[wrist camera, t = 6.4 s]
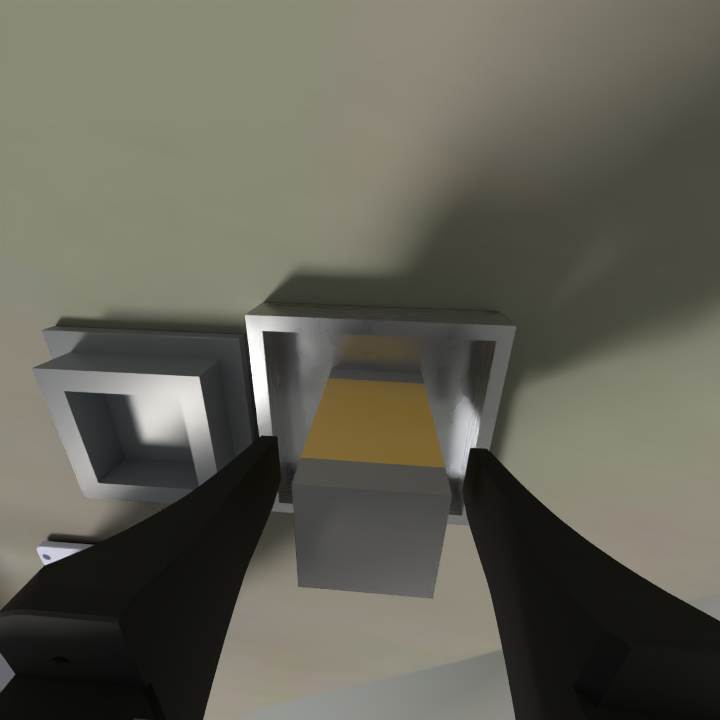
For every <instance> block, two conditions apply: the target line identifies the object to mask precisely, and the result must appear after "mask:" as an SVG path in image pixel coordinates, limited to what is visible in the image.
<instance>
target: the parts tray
mask: <svg viewBox="0 0 720 720" xmlns="http://www.w3.org/2000/svg"><path fill="white" fill-rule="evenodd" d="M245 319H246V327H247V336H248V344H249V353H250V361H251V370H252V378H253V387H254V395H255V404H256V412H257V421H258V430H259V437H260V436H261V435H265V436H277V438H278V449H279V460H280V471H281V481H280V485H279V488H278V492H277V495H276V499H275V502H274V505H273V508H272V510H271V511H273V512H287V513H294V512H293V496H292V482H293V479H294V476H295V473H296V470H297V467H298V464H299V461H300V458H301V455H302V453H303V450H304V447H305V444H306V441H307V438H308V435H309V432H310V429H311V426H312V424H313V421H314V418H315V415H316V412H317V409H318V406H319V403H320V400H321V397H322V395H323V392H324V389H325V386H326V383H327V380H328V377H329V374H330V371H331V368H336V369H354V370H371V371H389V372H406V373H422V376H423V380H424V384H425V388H426V392H427V396H428V400H429V404H430V408H431V412H432V416H433V420H434V425H435V429H436V433H437V437H438V441H439V445H440V449H441V453H442V457H443V461H444V465H445V469H446V473H447V477H448V481H449V485H450V489H451V493H452V499H451V504H450V509H449V515H448V520H447V524H456V525H469V522H468V519H467V515H466V509H465V504H464V499H463V493H462V488H463V483H464V477H465V472H466V467H467V462H468V456H469V451H470V448H484V449H488V450H490V445H491V441H492V436H493V432H494V427H495V423H496V418H497V413H498V409H499V404H500V400H501V395H502V391H503V386H504V382H505V377H506V372H507V368H508V363H509V359H510V354H511V350H512V345H513V340H514V336H515V331H516V327H517V326H516V325H515V324H513V323H512V322H511V321H510V320H509V319H507V318H506V317H505V316H504V315H502V314H501V313H500V312H494V311H468V310H443V309H417V308H391V307H366V306H340V305H314V304H288V303H261V304H260V305H259V306H257V307H256V308H254V309H253V310H251V311H250V312H249V313H247V314H246V315H245Z"/></svg>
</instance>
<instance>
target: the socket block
mask: <svg viewBox="0 0 720 720" xmlns="http://www.w3.org/2000/svg"><path fill="white" fill-rule="evenodd" d="M42 331H43V334H44V337H45V339H46V342H47V345H48V348H49V350H50V353H51V356H52V358H53V360H50V361H48V362H46V363H43V364H41V365H39V366H36V367H34V368H32V369H33V371H34V374H35V376H36V378H37V381H38V383H39V386H40V388H41V391H42V393H43V396H44V398H45V401H46V403H47V406H48V408H49V411H50V413H51V416H52V418H53V420H54V423H55V425H56V428H57V430H58V433H59V435H60V438H61V440H62V443H63V445H64V448H65V450H66V453H67V455H68V458H69V460H70V462H71V465H72V467H73V470H74V472H75V475H76V477H77V480H78V482H79V485H80V487H81V490H82V492H83V495H84V497H85V498H99V499H113V500H127V501H141V502H156V503H170V504H173V503H175V502H176V501H178V500H179V499H181V498H183V497H184V496H186V495H187V494H189V493H190V492H192V491H193V490H195V489H196V488H197V487H199V486H200V485H201V484H203V483H204V482H205V481H207V480H208V479H209V478H211V477H212V476H213V475H215V474H216V473H217V472H219V471H220V470H221V469H222V468H224V467H225V466H226V465H227V464H228V463H230V462H231V461H232V460H233V459H234V458H236V457H237V456H238V455H239V454H240V453H241V452H243V451H244V450H245V449H246V448H247V447H248V446H250V445H251V444H252V443H253V442H254V441H255V440H257V437H256V429H255V420H254V412H253V404H252V396H251V387H250V379H249V371H248V363H247V354H246V346H245V338H244V334H222V333H199V332H176V331H153V330H131V329H108V328H85V327H62V326H53V327H50V328H47V329H44V330H42Z"/></svg>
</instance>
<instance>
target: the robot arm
mask: <svg viewBox="0 0 720 720" xmlns="http://www.w3.org/2000/svg"><path fill="white" fill-rule="evenodd" d="M280 481H281V471H280V460H279V449H278V438H277V436H265V435H261V436H260V437H259V438H258V439H257V440H255V441H254V442H253V443H252V444H251V445H250V446H248V447H247V448H246V449H245V450H244V451H243V452H241V453H240V454H239V455H238V456H237V457H236V458H234V459H233V460H232V461H231V462H230V463H228V464H227V465H226V466H225V467H224V468H222V469H221V470H220V471H219V472H217V473H216V474H215V475H213V476H212V477H211V478H209V479H208V480H207V481H205V482H204V483H203V484H201V485H200V486H199V487H197V488H196V489H195V490H193V491H192V492H190V493H189V494H187V495H186V496H184V497H183V498H181V499H179V500H178V501H176V502H175V503H173V504H172V505H170V506H168V507H167V508H165V509H163V510H162V511H160V512H158V513H156V514H154V515H153V516H151V517H149V518H147V519H146V520H144V521H142V522H140V523H138V524H137V525H135V526H133V527H131V528H129V529H127V530H125V531H123V532H121V533H119V534H117V535H115V536H112V537H110V538H108V539H106V540H104V541H102V542H100V543H98V544H95V545H90V544H78V543H65V542H52V541H44V542H42V543H41V544H40V545H39V546H38V547H37V552H38V554H39V556H40V558H41V559H42V561H43V563H44V565H45V566H44V567H43V568H42V569H41V570H40V571H39V572H38V573H37V574H36V575H35V576H34V577H33V578H32V579H31V580H30V581H29V582H28V583H27V584H26V585H25V586H24V587H23V588H22V589H21V590H20V591H19V592H18V593H17V594H16V595H15V596H14V597H13V598H12V599H11V600H10V601H9V602H8V603H7V604H6V605H5V606H4V607H3V608H2V609H1V610H0V720H203V718H204V714H205V710H206V706H207V702H208V698H209V695H210V691H211V687H212V683H213V679H214V676H215V672H216V669H217V665H218V662H219V658H220V654H221V651H222V647H223V644H224V640H225V637H226V633H227V630H228V627H229V623H230V620H231V617H232V613H233V610H234V607H235V604H236V600H237V597H238V594H239V591H240V588H241V585H242V582H243V579H244V575H245V573H246V570H247V567H248V565H249V562H250V560H251V557H252V555H253V553H254V550H255V548H256V546H257V543H258V541H259V539H260V536H261V534H262V531H263V529H264V527H265V524H266V522H267V520H268V517H269V515H270V512H271V510H272V508H273V505H274V502H275V499H276V495H277V492H278V488H279V485H280ZM462 493H463V499H464V504H465V509H466V515H467V519H468V522H469V525H470V529H471V532H472V535H473V538H474V541H475V545H476V548H477V551H478V554H479V557H480V560H481V563H482V567H483V570H484V573H485V576H486V579H487V582H488V586H489V590H490V593H491V597H492V602H493V606H494V611H495V615H496V620H497V625H498V629H499V634H500V639H501V644H502V649H503V653H504V658H505V664H506V669H507V674H508V679H509V685H510V690H511V696H512V701H513V707H514V712H515V719H516V720H720V621H719V620H717V619H715V618H713V617H711V616H710V615H707V614H706V613H704V612H702V611H701V610H699V609H696V608H695V607H693V606H691V605H690V604H688V603H686V602H684V601H682V600H680V599H679V598H677V597H675V596H673V595H671V594H669V593H668V592H666V591H664V590H663V589H661V588H659V587H658V586H656V585H654V584H653V583H651V582H649V581H648V580H646V579H644V578H643V577H641V576H639V575H638V574H636V573H635V572H633V571H632V570H630V569H628V568H627V567H625V566H624V565H622V564H621V563H619V562H618V561H616V560H615V559H613V558H612V557H610V556H609V555H607V554H606V553H605V552H603V551H602V550H600V549H599V548H597V547H596V546H594V545H593V544H592V543H590V542H589V541H588V540H586V539H585V538H583V537H582V536H581V535H580V534H578V533H577V532H576V531H574V530H573V529H572V528H571V527H569V526H568V525H567V524H566V523H564V522H563V521H562V520H561V519H559V518H558V517H557V516H556V515H555V514H553V513H552V512H551V511H550V510H549V509H548V508H547V507H546V506H544V505H543V504H542V503H541V502H540V501H539V500H538V499H537V498H536V497H534V496H533V495H532V494H531V493H530V492H529V491H528V490H527V489H526V488H525V487H524V486H523V485H522V484H521V483H520V482H519V481H518V480H517V479H516V478H515V477H514V476H513V475H512V474H511V473H510V472H509V471H508V470H507V469H506V468H505V467H504V466H503V465H502V464H501V463H500V462H499V460H498V459H497V458H496V457H495V456H494V455H493V454H492V453H491V452H490V451H489V450H488V449H484V448H470V451H469V456H468V462H467V467H466V472H465V477H464V483H463V488H462Z"/></svg>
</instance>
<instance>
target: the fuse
mask: <svg viewBox="0 0 720 720" xmlns="http://www.w3.org/2000/svg"><path fill="white" fill-rule="evenodd" d="M292 496H293V512H294V528H295V543H296V559H297V575H298V587H309V588H320V589H332V590H343V591H354V592H366V593H377V594H388V595H399V596H411V597H422V598H433V594H434V589H435V583H436V578H437V573H438V568H439V562H440V557H441V552H442V546H443V541H444V536H445V530H446V525H447V520H448V515H449V509H450V504H451V499H452V493H451V489H450V485H449V481H448V477H447V473H446V469H445V465H444V461H443V457H442V453H441V449H440V445H439V441H438V437H437V433H436V429H435V425H434V420H433V416H432V412H431V408H430V404H429V400H428V396H427V392H426V388H425V384H424V380H423V376H422V373H406V372H389V371H371V370H354V369H336V368H331V371H330V374H329V377H328V380H327V383H326V386H325V389H324V392H323V395H322V397H321V400H320V403H319V406H318V409H317V412H316V415H315V418H314V421H313V424H312V426H311V429H310V432H309V435H308V438H307V441H306V444H305V447H304V450H303V453H302V455H301V458H300V461H299V464H298V467H297V470H296V473H295V476H294V479H293V482H292Z"/></svg>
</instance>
